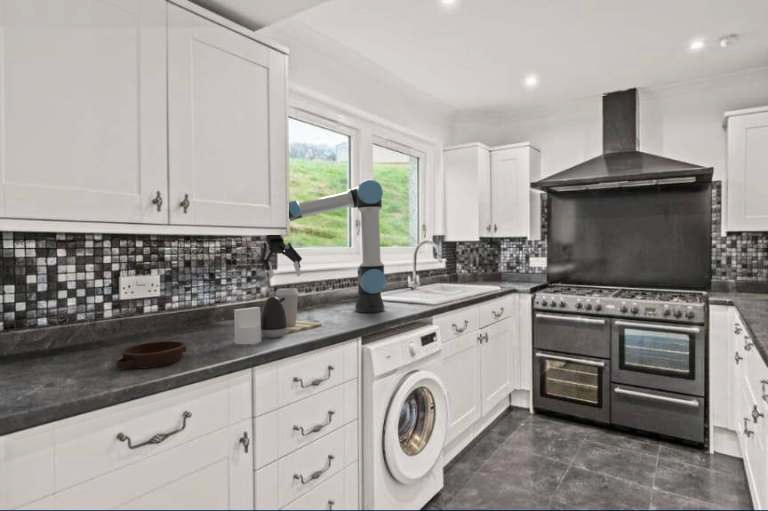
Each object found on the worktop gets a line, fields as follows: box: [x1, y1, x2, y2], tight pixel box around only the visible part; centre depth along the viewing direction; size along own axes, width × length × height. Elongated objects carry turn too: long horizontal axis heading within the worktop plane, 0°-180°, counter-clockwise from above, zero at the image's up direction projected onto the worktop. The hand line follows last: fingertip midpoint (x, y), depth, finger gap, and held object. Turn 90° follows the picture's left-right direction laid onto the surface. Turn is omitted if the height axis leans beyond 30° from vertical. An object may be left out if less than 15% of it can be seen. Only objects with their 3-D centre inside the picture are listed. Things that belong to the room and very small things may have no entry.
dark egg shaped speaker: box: [260, 296, 287, 339], centre depth 170 cm, size 10×10×15 cm
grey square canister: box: [233, 306, 262, 345], centre depth 162 cm, size 9×9×12 cm
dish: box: [115, 340, 188, 369], centre depth 135 cm, size 18×22×5 cm
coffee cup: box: [275, 287, 300, 326], centre depth 189 cm, size 10×10×15 cm
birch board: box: [284, 320, 323, 335], centre depth 189 cm, size 20×20×1 cm
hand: (286, 275), depth 200 cm, fingers open, 13 cm apart
